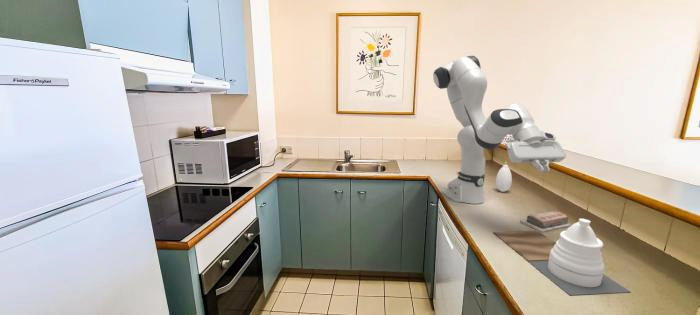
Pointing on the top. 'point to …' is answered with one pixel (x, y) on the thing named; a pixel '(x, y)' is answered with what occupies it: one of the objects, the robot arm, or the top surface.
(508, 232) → the cutting board
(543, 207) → the top surface
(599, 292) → the trivet mat
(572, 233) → the honey pot
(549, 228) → the packaged product
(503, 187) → the white tall oval piece
